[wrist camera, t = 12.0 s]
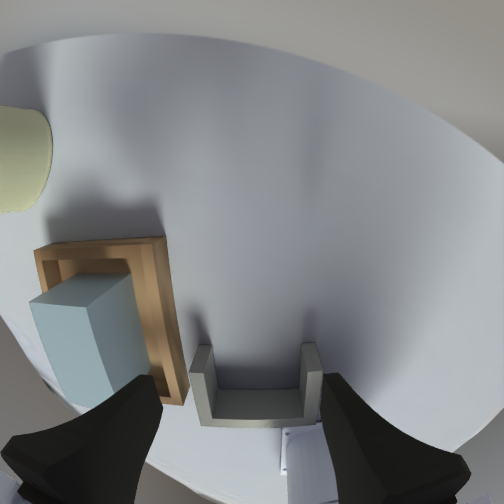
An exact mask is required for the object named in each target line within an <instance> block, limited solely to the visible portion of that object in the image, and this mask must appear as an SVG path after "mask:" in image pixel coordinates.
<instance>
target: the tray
mask: <svg viewBox="0 0 504 504" xmlns="http://www.w3.org/2000/svg"><path fill="white" fill-rule="evenodd" d="M33 251H34V256H35V262H36V267H37V272H38V276H39V281H40V285H41V289H42V293H44V292H46V291H48V290H49V289H51V288H53V287H55V286H56V285H58V284H60V283H61V282H63V281H65V280H67V279H68V278H70V277H72V276H74V275H75V274H77V273H131V274H132V280H133V286H134V291H135V297H136V302H137V307H138V312H139V317H140V321H141V326H142V330H143V335H144V339H145V343H146V347H147V351H148V355H149V359H150V362H151V366H152V367H151V369H150V370H149V372H148V374H147V375H152V376H153V379H154V382H155V385H156V388H157V391H158V394H159V397H160V400H161V403H162V404H171V405H180V406H183V405H184V402H185V399H186V396H187V393H188V390H189V387H190V384H189V380H188V375H187V370H186V365H185V360H184V355H183V350H182V345H181V340H180V334H179V328H178V322H177V316H176V310H175V304H174V297H173V290H172V283H171V275H170V268H169V259H168V251H167V241H166V236H156V237H138V238H121V239H105V240H91V241H76V242H63V243H52V244H49V245H47V246H44V247H41V248H39V249H36V250H33Z"/></svg>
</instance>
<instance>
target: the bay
mask: <svg viewBox="0 0 504 504" xmlns="http://www.w3.org/2000/svg"><path fill="white" fill-rule="evenodd" d="M189 377H190V382H191V386H192V391H193V395H194V400H195V404H196V408H197V412H198V416H199V420H200V424H201V426H208V427H226V428H280V427H298V426H311V425H316V421H317V414H318V408H319V401H320V393H321V385H322V377H323V368H322V365H321V361H320V358H319V354H318V351H317V348H316V344H315V343H302V346H301V366H300V383H299V388H293V389H270V390H224V389H218V384H217V377H216V370H215V363H214V356H213V348H212V345H199V346H198V349H197V352H196V354H195V357H194V360H193V362H192V365H191V367H190V370H189Z"/></svg>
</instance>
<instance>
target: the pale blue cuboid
mask: <svg viewBox="0 0 504 504" xmlns="http://www.w3.org/2000/svg"><path fill="white" fill-rule="evenodd" d="M29 304H30V308H31V311H32V315H33V318H34V321H35V324H36V327H37V330H38V333H39V336H40V339H41V341H42V344H43V347H44V349H45V352H46V355H47V357H48V359H49V362H50V364H51V367H52V369H53V371H54V374H55V376H56V378H57V380H58V382H59V385H60V387H61V389H62V391H63V393H64V395H65V397H66V399H67V401H68V402H70V403H73V404H77V405H80V406H84V407H87V408H91V409H93V408H94V407H96V406H97V405H99V404H100V403H102V402H103V401H105V400H106V399H108V398H109V397H111V396H112V395H113V394H115V393H116V392H117V391H119V390H120V389H121V388H122V387H124V386H125V385H126V384H128V383H129V382H130V381H132V380H133V379H134V378H136V377H137V376H138V375H140V374H143V375H147V374H148V372H149V370H150V369H151V367H152V366H151V362H150V359H149V355H148V351H147V347H146V343H145V339H144V335H143V330H142V326H141V321H140V317H139V312H138V307H137V302H136V297H135V291H134V286H133V280H132V274H131V273H77V274H75V275H74V276H72V277H70V278H68V279H67V280H65V281H63V282H61V283H60V284H58V285H56V286H55V287H53V288H51V289H49V290H48V291H46V292H44V293H43V294H41V295H39V296H38V297H36V298H34V299H33V300H31V301H30V302H29Z"/></svg>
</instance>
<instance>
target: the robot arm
mask: <svg viewBox="0 0 504 504" xmlns="http://www.w3.org/2000/svg"><path fill="white" fill-rule="evenodd" d="M162 412H163V406H162V403H161V400H160V397H159V394H158V391H157V388H156V385H155V382H154V379H153V376H152V375H143V374H140V375H138V376H137V377H136V378H134V379H133V380H132V381H130V382H129V383H128V384H126V385H125V386H124V387H122V388H121V389H120V390H119V391H117V392H116V393H115V394H113V395H112V396H111V397H109V398H108V399H106V400H105V401H103V402H102V403H100V404H99V405H97V406H96V407H94V408H93V409H91V410H90V411H88V412H86V413H85V414H83V415H81V416H79V417H77V418H75V419H73V420H71V421H68V422H66V423H63V424H61V425H59V426H56V427H53V428H50V429H47V430H43V431H39V432H35V433H30V434H23V435H16V436H13V437H12V438H11V439H10V440H9V442H8V443H7V444H6V446H5V447H4V448H3V450H2V451H1V452H0V453H1V456H2V458H3V459H4V461H5V462H6V463H7V464H8V466H9V467H10V468H11V469H12V470H13V471H14V472H15V473H16V474H17V475H18V476H19V477H20V478H21V479H22V481H24V482H23V483H22V485H20V484H19V483H18V482H17V481H15V480H14V479H12V478H11V477H10V476H8V475H7V474H5V473H4V472H2V471H0V504H134V500H135V495H136V490H137V485H138V481H139V477H140V473H141V470H142V467H143V464H144V461H145V459H146V457H147V454H148V452H149V449H150V447H151V445H152V442H153V440H154V437H155V435H156V432H157V430H158V427H159V424H160V420H161V416H162ZM320 412H321V419H322V422H318V423H316V425H311V426H298V427H283V428H282V445H281V465H280V474H281V475H287V487H288V504H456V503H457V499H456V497H455V495H456V493H457V492H458V491H459V490H460V489H461V488H462V487H463V486H464V485H465V484H466V483H467V481H468V480H469V478H470V476H471V472H470V470H469V468H468V466H467V464H466V462H465V461H464V459H463V458H462V456H461V455H458V454H455V453H451V452H448V451H444V450H441V449H438V448H435V447H433V446H430V445H428V444H425V443H423V442H421V441H419V440H417V439H415V438H413V437H411V436H409V435H407V434H406V433H404V432H402V431H401V430H399V429H397V428H396V427H394V426H393V425H392V424H390V423H389V422H387V421H386V420H385V419H384V418H382V417H381V416H380V415H379V414H378V413H376V412H375V411H374V410H373V409H372V408H371V407H370V406H369V405H368V404H367V403H366V402H365V401H364V400H363V399H362V398H361V397H360V396H359V395H358V394H357V393H356V392H355V391H354V390H353V389H352V388H351V387H350V386H349V384H348V383H347V382H346V381H345V380H344V378H343V377H342V376H341V375H340V374H339V373H330V374H323V384H322V394H321V403H320ZM287 432H288V433H287ZM467 504H493V502H492V500H491V498H490V496H489V495H488V493H484V494H482V495H481V496H479V497H477V498H476V499H474V500H472V501H470V502H468V503H467Z"/></svg>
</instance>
